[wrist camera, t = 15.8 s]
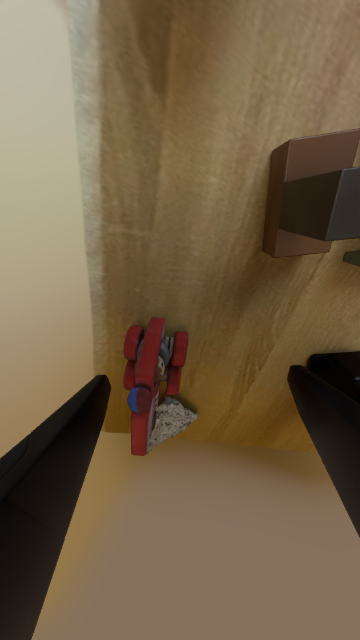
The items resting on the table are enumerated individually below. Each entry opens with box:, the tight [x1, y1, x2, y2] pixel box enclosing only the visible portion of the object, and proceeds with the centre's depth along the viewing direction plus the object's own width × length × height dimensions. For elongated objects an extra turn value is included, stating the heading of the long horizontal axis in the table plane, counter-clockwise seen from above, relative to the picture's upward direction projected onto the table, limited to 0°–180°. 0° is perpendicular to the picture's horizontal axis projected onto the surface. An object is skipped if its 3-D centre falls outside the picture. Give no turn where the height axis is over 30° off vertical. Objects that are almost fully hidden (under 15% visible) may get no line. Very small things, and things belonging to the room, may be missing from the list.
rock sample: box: [146, 396, 198, 454], centre depth 30 cm, size 10×8×9 cm
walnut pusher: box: [263, 128, 360, 258], centre depth 13 cm, size 8×4×9 cm, turn 6°
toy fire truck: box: [124, 317, 188, 456], centre depth 21 cm, size 7×12×10 cm, turn 172°
